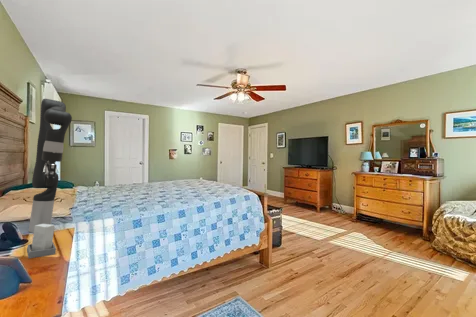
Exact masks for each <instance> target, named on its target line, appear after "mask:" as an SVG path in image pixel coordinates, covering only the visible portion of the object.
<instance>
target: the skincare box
mask: <svg viewBox="0 0 476 317" xmlns="http://www.w3.org/2000/svg"><path fill="white" fill-rule="evenodd" d="M54 232H55V224H51V225H50V224H39V225H35V227H34V233H33V234H32V235H33V236H32V243H31V244H32V249H31V252H32V251H39V250H46V249H51V248H52V242H54V240H53V239H54Z"/></svg>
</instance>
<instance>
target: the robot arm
mask: <svg viewBox="0 0 476 317" xmlns="http://www.w3.org/2000/svg"><path fill="white" fill-rule="evenodd" d="M66 109H67V107H66V104H65V102H63V101H60V100H59V101H58V100H54V99H51V98H42V100H41V104H40V121H39V122H40V123H39V129H38V130H39V131H38V136H37V145H36V156H35V163H34V169H33V172H32V179H31V185H32V187H33V188H34V189H45V190H43V191H42V192H40V193H37V194H34V195H33V198H32V203H31V204H32V206H31V212H30V220H29V225H28V232H29V233H32V234H34V227H35V225H39V224H50V225H52V219H53V211H54V204H55V198H56V194H57V189H58V184H59V180H60V179H59V174H58V173H57V171H56V170H57V166H58V164H56V162H58V163H59V162H62V160H63V155H64V154H63V153H64V142H65V138H66V133H67V130H68V128H69V127H70V124H71V123H72V120H73V117H72V115H71V113H69V112H67V111H66ZM52 125H56V126H61V127H60V128H53V127H52Z"/></svg>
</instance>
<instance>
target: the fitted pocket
mask: <svg viewBox="0 0 476 317" xmlns="http://www.w3.org/2000/svg"><path fill="white" fill-rule="evenodd" d="M31 249H32V243H30V244H27V248H26V252H27V258H28V259H33V258H40V257H45V256H46V257H47V256H52V255H56V251H57V247H56V246H55V244H54V241H52V248H51V249H46V250H39V251H32V252H31Z"/></svg>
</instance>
